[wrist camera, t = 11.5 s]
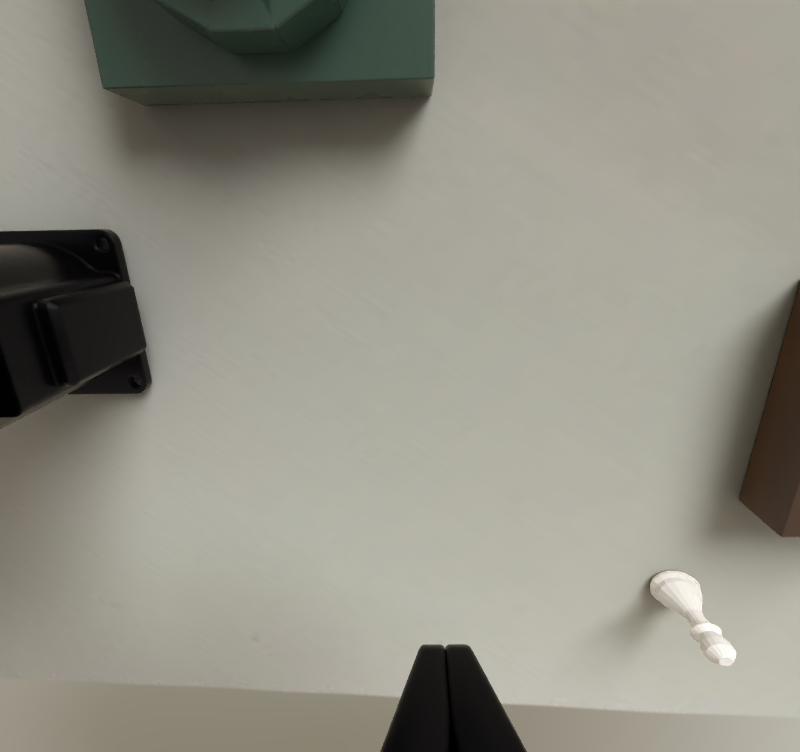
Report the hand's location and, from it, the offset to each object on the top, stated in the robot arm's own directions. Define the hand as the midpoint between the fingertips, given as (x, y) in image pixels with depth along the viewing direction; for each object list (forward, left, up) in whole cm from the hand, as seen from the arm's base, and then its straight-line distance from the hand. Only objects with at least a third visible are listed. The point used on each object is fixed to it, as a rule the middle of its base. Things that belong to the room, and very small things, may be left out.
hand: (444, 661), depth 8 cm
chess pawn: (+12, -10, -12) cm, 20 cm away
